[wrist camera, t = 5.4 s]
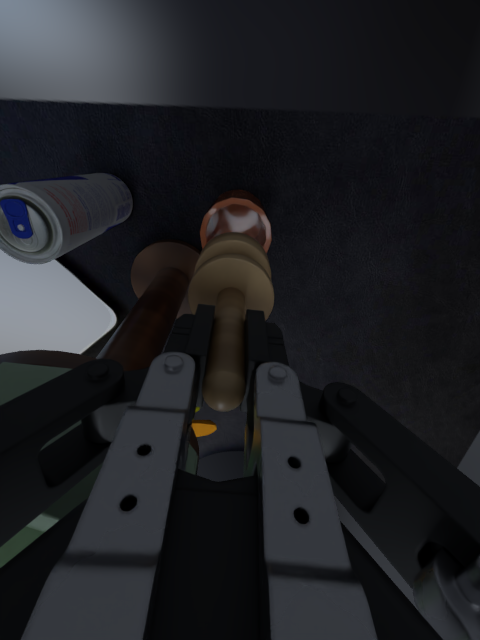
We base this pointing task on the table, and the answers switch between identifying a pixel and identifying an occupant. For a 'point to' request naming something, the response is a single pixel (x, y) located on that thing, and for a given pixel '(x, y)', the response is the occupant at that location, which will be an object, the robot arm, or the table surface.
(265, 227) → the holder
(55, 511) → the green bowl
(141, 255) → the brown pedestal stand
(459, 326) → the table surface
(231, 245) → the beige plunger
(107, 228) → the beverage can
